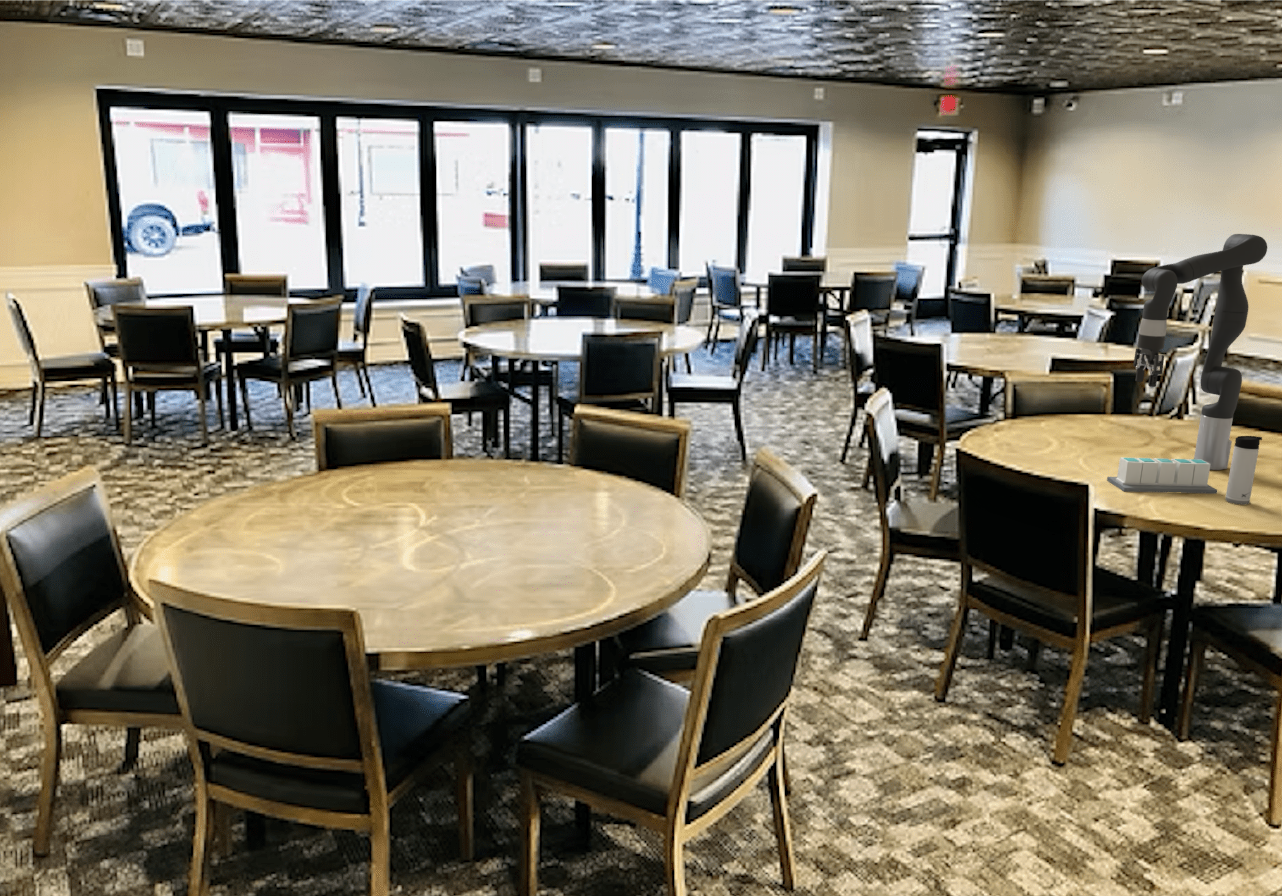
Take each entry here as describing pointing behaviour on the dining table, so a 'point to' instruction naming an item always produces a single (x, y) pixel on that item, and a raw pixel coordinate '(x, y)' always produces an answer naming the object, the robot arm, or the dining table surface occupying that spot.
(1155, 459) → the block
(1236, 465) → the travel mug
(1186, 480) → the rail panel
